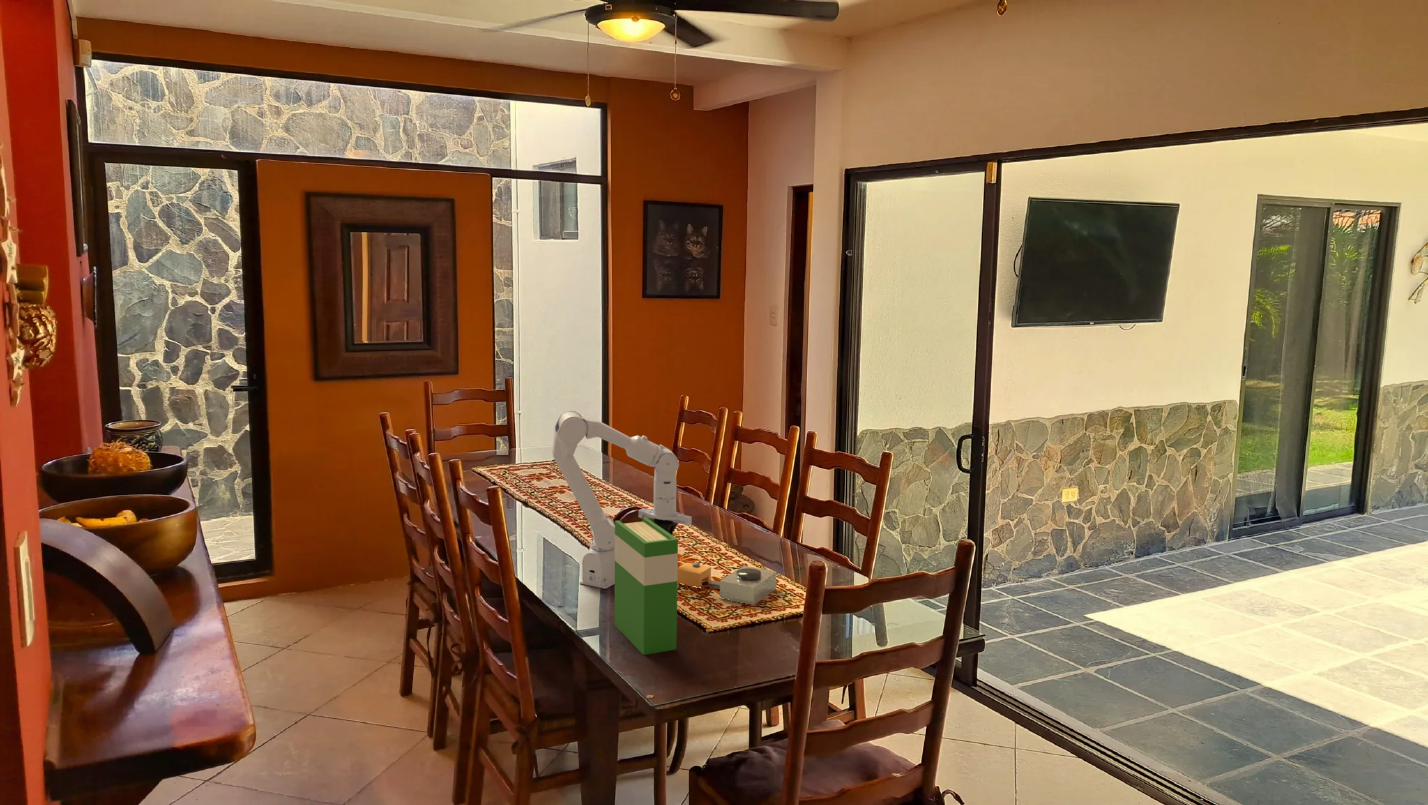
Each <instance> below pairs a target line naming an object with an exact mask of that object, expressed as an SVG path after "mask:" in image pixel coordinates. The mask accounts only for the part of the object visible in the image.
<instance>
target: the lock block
mask: <svg viewBox="0 0 1428 805" xmlns="http://www.w3.org/2000/svg"><path fill="white" fill-rule="evenodd" d="M702 581H705V582H710V581H712V566H707V565H702V564H700V563H699V562H693V563H692V562H685V563H682V564H681V565H680V566H678V575H677V583H684V584H687V585H690V586H696V587H701V586H702V585H703V582H702ZM705 582H704V583H705Z"/></svg>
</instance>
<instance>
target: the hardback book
mask: <svg viewBox="0 0 1428 805" xmlns="http://www.w3.org/2000/svg"><path fill="white" fill-rule="evenodd" d="M641 519H642V521H635V522H628V523H623V522H621V521H620V520H615V521H614V524H615V584H614V614H613V615H614V620H613V621H614V626H615V627H616V628H617V629H618V630H619V631H620V632H621V633H622V634H623V635H624V636H625V638H627V640H629V641H630V643H631V644H632V645H633V646H634V647H635V648H636V649H637V650H638V651H639V652H640V653H641V654H642V655H643V656H646V655H652V654H659V653H663V652H668V651H669V652H670V651H675V650H677V633H678V630H677V629H678V627H677V626H678V584H677V575H678V567H679V566H678V564H679V559H678V558H679V539H678V538H677V537H676V536H674V535H673V534H672V535H671V534H670V533H668V532H667V531H665V530H664V529H662V528H661V527H659V526H658V525H657V524H655V523H654V521H653V520H652V519H650V518H644V517H643V518H641Z"/></svg>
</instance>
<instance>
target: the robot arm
mask: <svg viewBox="0 0 1428 805" xmlns="http://www.w3.org/2000/svg"><path fill="white" fill-rule="evenodd" d="M584 438H586V440H591V439H594V438H599V439H601V440H604V441H605V442H608V443H610V444H613V445H615V446H618V447H619V448H622V449H624V450H625V454H626V455H627V457H630V458H631V459H633V460H635V461H637V462H639V463H640V464H641V463H642V464H644V465H646V466H648V467H654V474H653V475H654V476H653V477H654V478H653V509H649V508H640V509H639V510H638V518H640V519H642V518H648V519H649V520H653V522H654V523H655V524H657V525H658V526H659V527H661V528H662V529H664V530H665V531H667V532H668V533H670V534H671V535H672V536H673V534H674V533H675V532H674V531H675V529H676V527H677V525H678V524H681V525H684V526H687V527H689V526H690V525H692V521H693V519H692V515H691V516H689V515H685V514H684V513H681V512H677V471H678V470H679V467H680V462H679V460H678V457H677V455H676V454H674V452H673V451H672V450H670V449H669V448H668V447H666V446H664V445H662V444H656V443H654V442H652V441H651V440H648V438H649V437H647V436H646V435H642V436H640V435H634V436H631V437H630V436H629V435H626V434H625V433H623V432H621V431H619V430H617V429H616V428H613V427H611V426H610V425H608V424H606V423H604V422H602V421H601V420H598V419H595V418H593V417H591V416H588V415H586V414H584V413H583V414H580V413H579V412H577V411H576V410H567V411H564V412H562V413H561V414H560V416H559V417H558V419H557V421H556V423H555V424H554V434H553V443H552V457H553V460H554V461H555V463H556V465H557V467H558V468H559V470H560V472H561V474H562V476H563V478H564V480H565V482H566V483H567V485H568V487H569V489H570V490H571V493H572V495H573V496H574V498H575V500H576V502H577V504H578V505H579V507H580V509H581V511H582V513H583V514H584V516H585V519H586V520H587V523H588V524H589V526H590V528H589V530H590V533H591V535H592V537H593V539H592V540H591V542H590V545H589V546H590V547H589V550H588V552H586V554H585V555H583V557H582V562H581V563H582V566H581V567H582V569H581V570H582V572H581V573H582V574H581V575H582V576H581V577H582V578H581V580H580V581H579V584H582V585H586V586H589V587H590V586H591V587H595V588H599V589H605V590H606V589H608V588H610V587H612V586H613V585H614V586H615V521H614V520H613V518H611V517H610V516H608V515H607V514H606V513H605V511H604V510H603V508H602V506H601V504H600V503H599V501H598V500H599V499H597V497H596V495H595V493H594V492H593V490H592V488H591V486H590V483H589V482H588V480H587V479H586V477H585V475H584V473H583V470H582V469H581V468H580V465H579V464H578V462H577V460H576V457H575V456H574V454H575V452H576V449H577V447H578V445H579V443H581V442H582V440H583V439H584Z"/></svg>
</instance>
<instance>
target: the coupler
mask: <svg viewBox="0 0 1428 805" xmlns="http://www.w3.org/2000/svg"><path fill="white" fill-rule="evenodd" d="M707 586H708V587H711V588H710V589H713V588H718V589H720V590H719V598H720V597H721V598H724V599H729V600H732V601H731V602H733V601H736V602H735V603H738V602H742V603H741V604H743V603H745V604H744V605H748V604H751V605H750V606H753V605H754V604H755V605H756V604H758V603H759V602H760V601H762V600H763V599H764V598H766V597H768V595H770V594H771V593H773V592H774V591H775V590H776V589H777V571H775V570H768V569H763V568H757V567H751V566H747V565H743V566H741V567H739V568H738V569H736V570H735V571H733V572H732V573H730V574H729V575H727V576H725V577H724V578H722V579H720V581H717V580H713V579H711V582H709V583H707ZM718 589H717V590H718ZM724 599H723V600H724ZM729 600H728V601H729ZM755 605H754V606H755Z"/></svg>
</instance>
